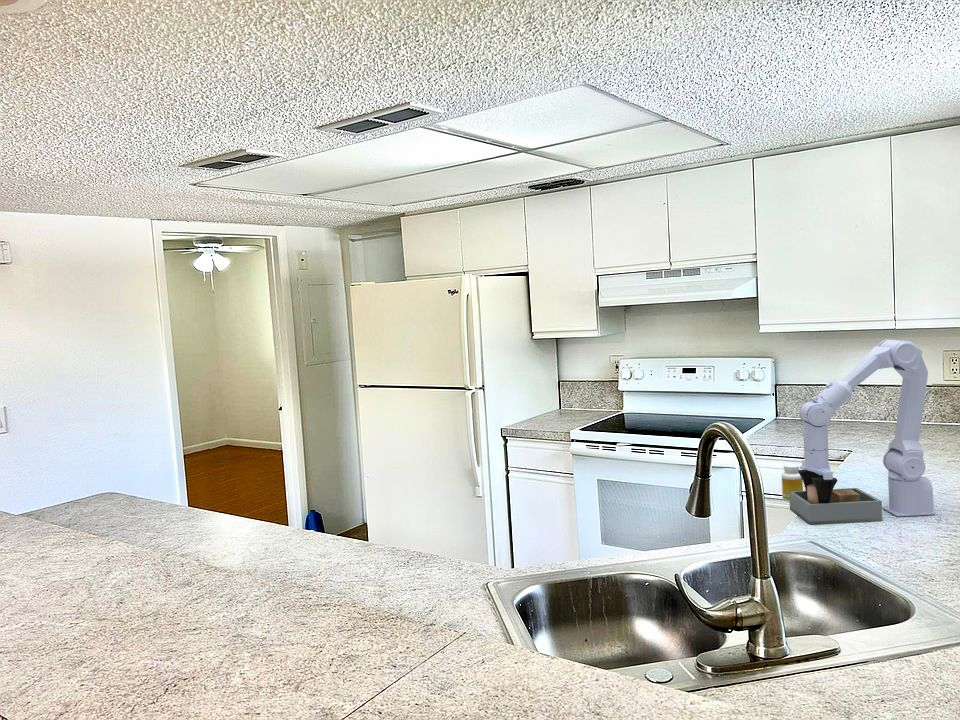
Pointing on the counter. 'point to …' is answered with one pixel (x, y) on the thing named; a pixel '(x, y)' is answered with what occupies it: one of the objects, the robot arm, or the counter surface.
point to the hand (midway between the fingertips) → (818, 501)
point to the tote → (836, 509)
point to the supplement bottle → (791, 480)
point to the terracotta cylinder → (812, 494)
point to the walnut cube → (845, 496)
